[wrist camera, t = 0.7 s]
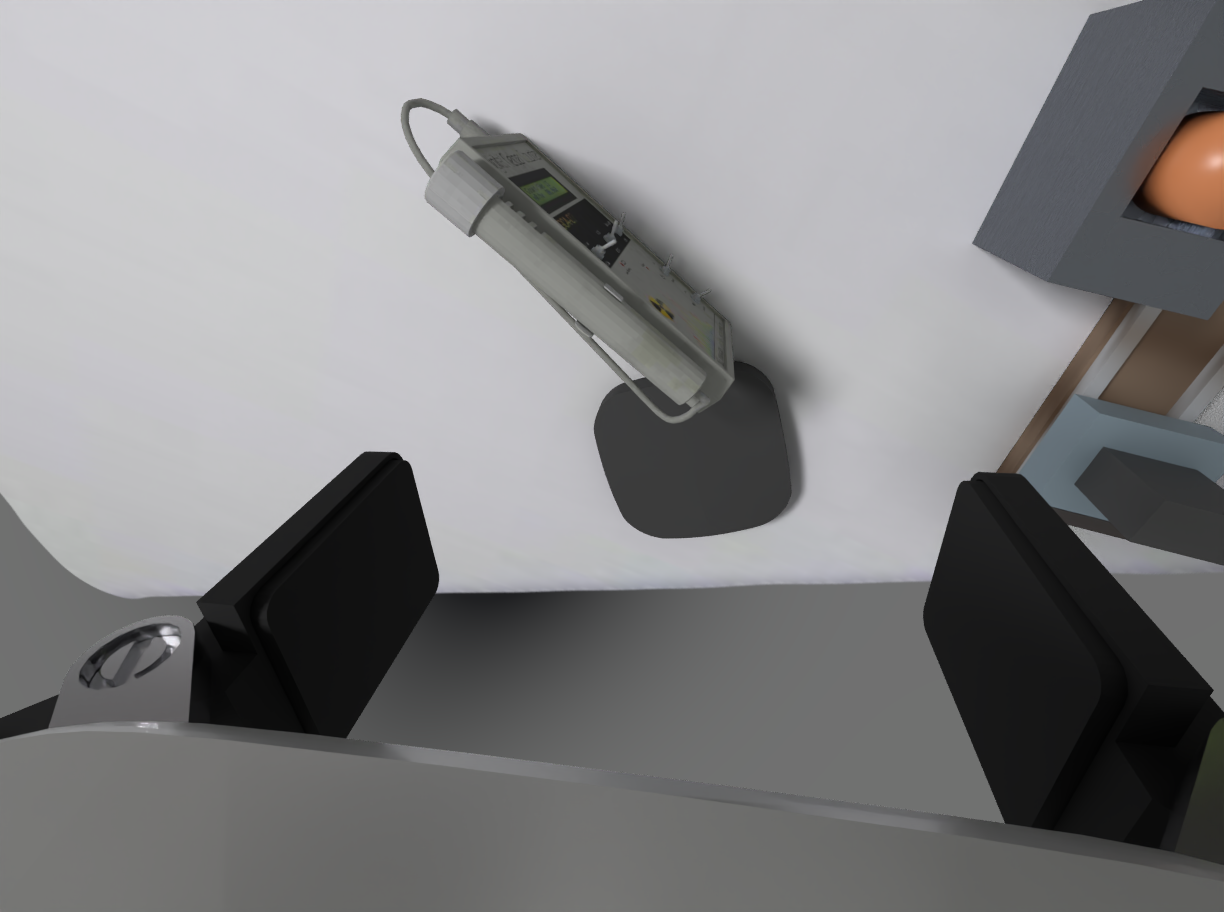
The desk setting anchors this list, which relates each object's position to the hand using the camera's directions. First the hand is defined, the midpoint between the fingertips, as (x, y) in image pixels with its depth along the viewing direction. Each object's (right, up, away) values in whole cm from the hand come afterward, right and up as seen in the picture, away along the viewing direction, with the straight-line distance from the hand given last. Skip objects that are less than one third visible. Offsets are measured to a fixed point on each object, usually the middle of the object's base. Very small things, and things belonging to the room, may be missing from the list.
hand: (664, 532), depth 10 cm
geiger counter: (-3, +17, +31) cm, 35 cm away
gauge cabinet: (+27, +19, +24) cm, 41 cm away
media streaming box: (+6, +2, +39) cm, 39 cm away
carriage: (+33, +2, +30) cm, 45 cm away
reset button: (+26, +15, +17) cm, 35 cm away
